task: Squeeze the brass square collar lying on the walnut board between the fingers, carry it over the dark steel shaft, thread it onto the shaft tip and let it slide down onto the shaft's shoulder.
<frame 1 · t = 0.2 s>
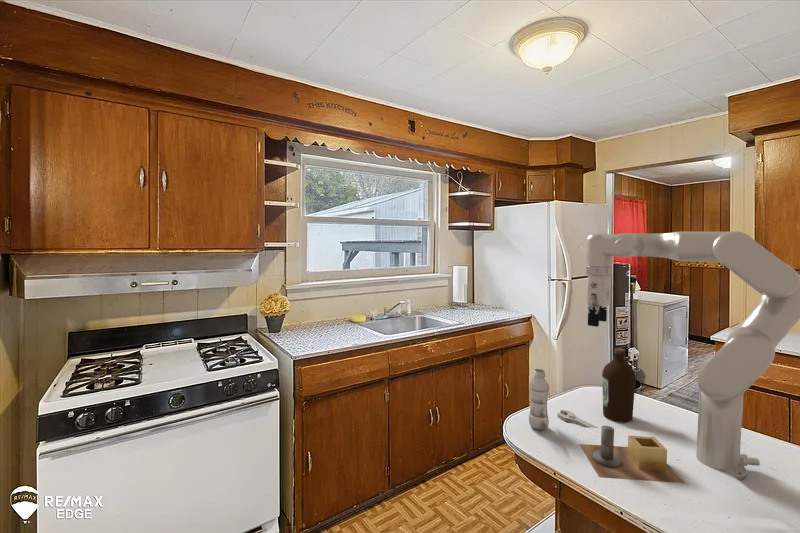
hand: (597, 323, 130), 37 cm above the counter, tool pointing down, fingers open, 9 cm apart
adjustable wrench: (587, 429, 135), on the counter
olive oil: (617, 417, 143), on the counter
brass collar: (646, 463, 111), point 1 cm above the counter, touching shaft board
shaft board: (627, 466, 112), on the counter
plastic bottle: (538, 428, 136), on the counter
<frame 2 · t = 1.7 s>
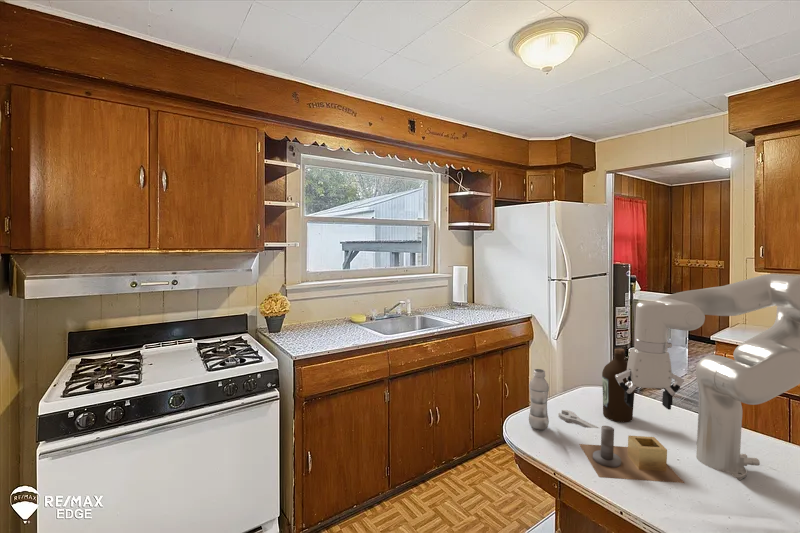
hand: (647, 406, 110), 18 cm above the counter, tool pointing down, fingers open, 9 cm apart
nothing on the counter moved.
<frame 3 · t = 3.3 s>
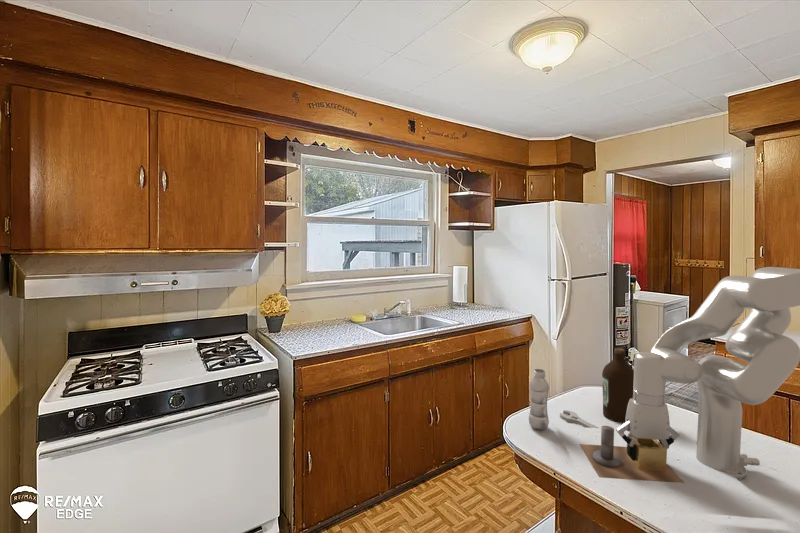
hand: (646, 458, 111), 3 cm above the counter, tool pointing down, fingers closed on brass collar, 7 cm apart
brass collar: (646, 462, 111), point 1 cm above the counter, touching gripper, shaft board
everything else where it was.
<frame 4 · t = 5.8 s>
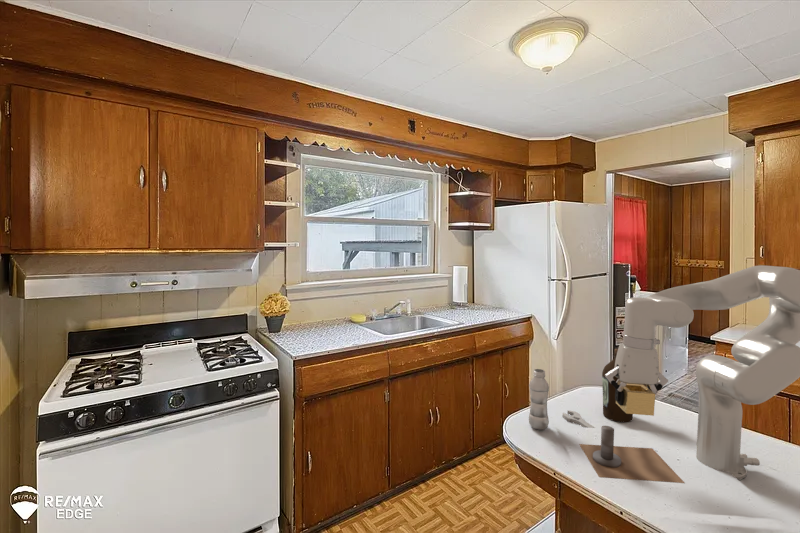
hand: (634, 404, 111), 18 cm above the counter, tool pointing down, fingers closed on brass collar, 7 cm apart
brass collar: (634, 409, 111), point 17 cm above the counter, touching gripper
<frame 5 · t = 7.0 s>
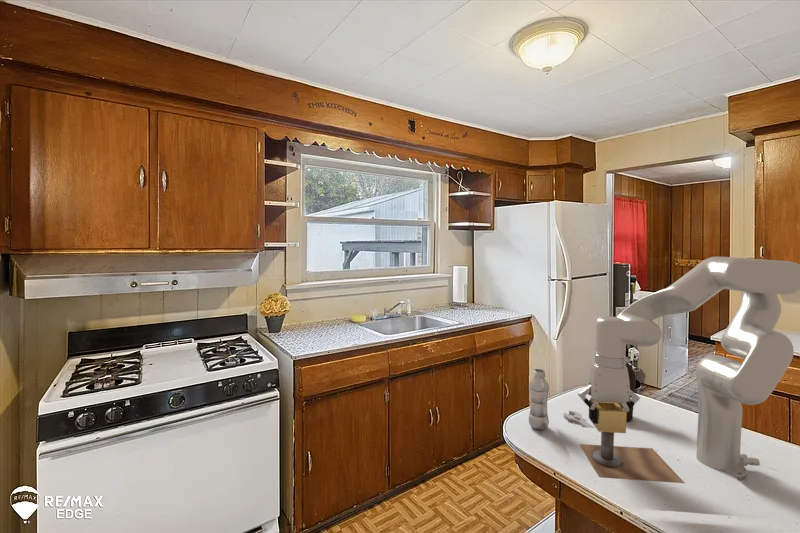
hand: (607, 422, 112), 13 cm above the counter, tool pointing down, fingers closed on brass collar, 7 cm apart
brass collar: (607, 426, 112), point 12 cm above the counter, touching gripper
when the fingers open (10 cm above the counter, at t = 8.0 s): brass collar drops 6 cm, resting on shaft board.
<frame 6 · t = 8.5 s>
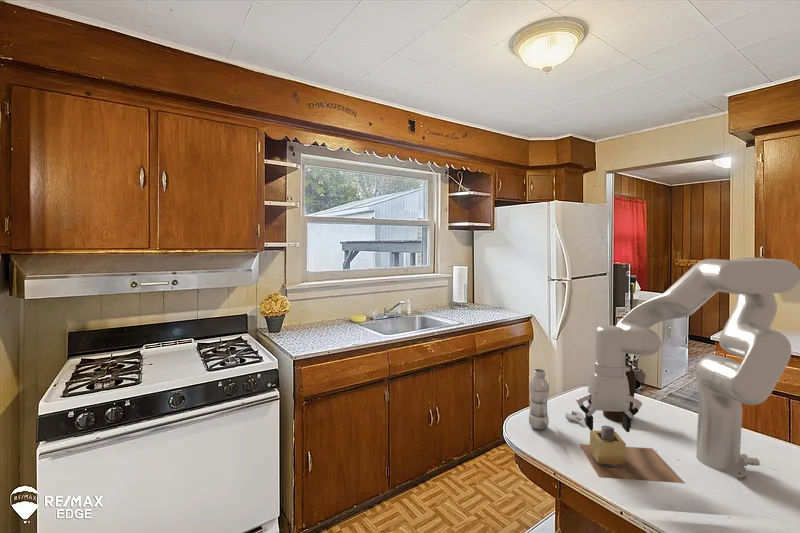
hand: (607, 428, 112), 11 cm above the counter, tool pointing down, fingers open, 9 cm apart
brass collar: (606, 457, 113), point 2 cm above the counter, touching shaft board
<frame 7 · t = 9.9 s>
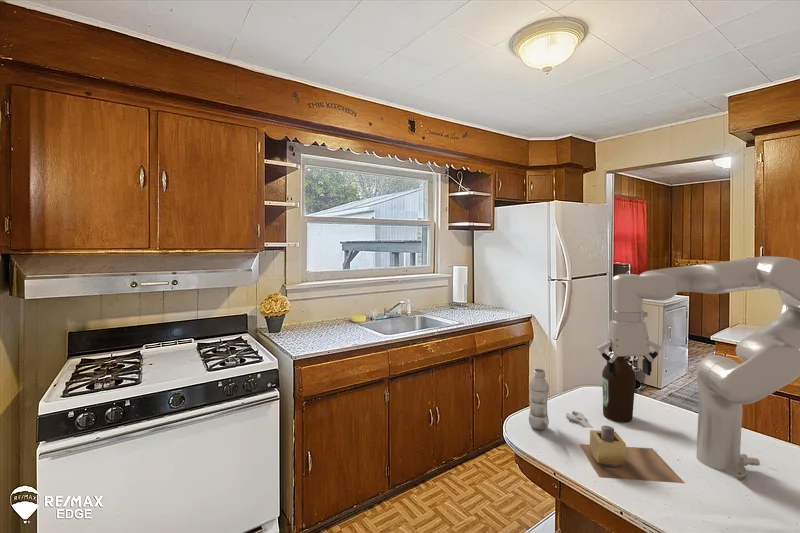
hand: (629, 374, 116), 25 cm above the counter, tool pointing down, fingers open, 9 cm apart
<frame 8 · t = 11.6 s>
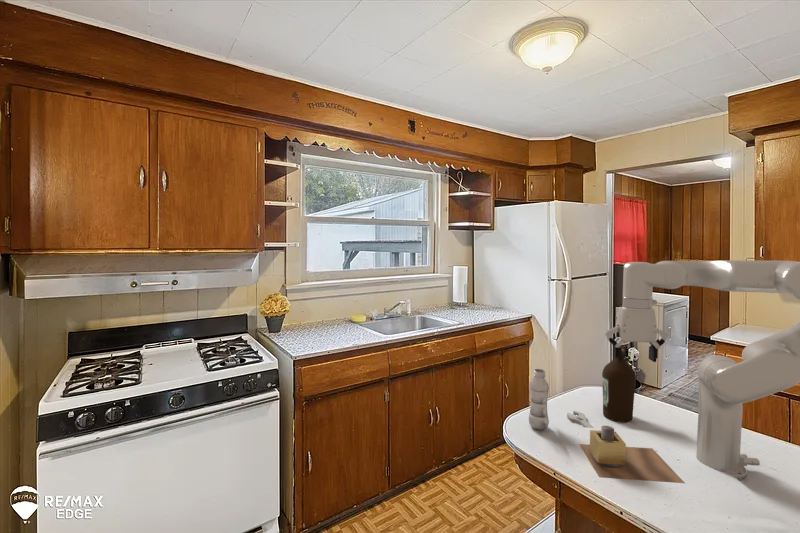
hand: (635, 360, 118), 28 cm above the counter, tool pointing down, fingers open, 9 cm apart
at the end: brass collar 0.0 cm from the target spot on the shaft board, point 2.5 cm above the shaft board's base; brass collar tilted 0°; the gripper is holding nothing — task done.
